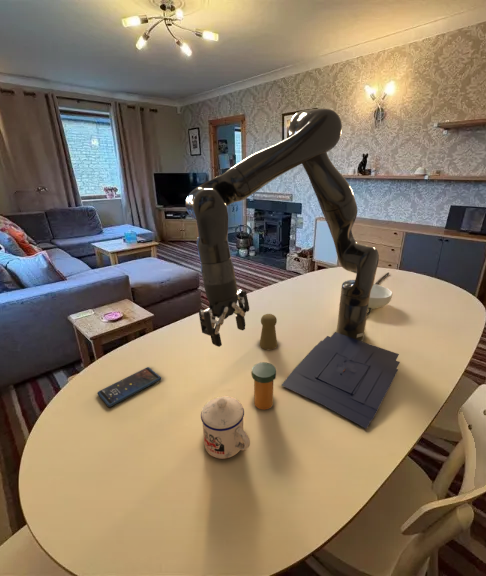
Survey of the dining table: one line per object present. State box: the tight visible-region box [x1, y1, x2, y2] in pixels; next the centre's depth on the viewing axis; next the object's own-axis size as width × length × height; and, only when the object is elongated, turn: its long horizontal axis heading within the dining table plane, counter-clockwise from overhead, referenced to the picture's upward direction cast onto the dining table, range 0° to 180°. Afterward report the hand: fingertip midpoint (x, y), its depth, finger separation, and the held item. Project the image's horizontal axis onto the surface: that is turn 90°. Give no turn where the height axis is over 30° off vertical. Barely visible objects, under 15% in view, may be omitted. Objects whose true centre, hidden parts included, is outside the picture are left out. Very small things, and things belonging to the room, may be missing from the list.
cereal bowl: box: [368, 283, 393, 310], centre depth 131 cm, size 17×17×7 cm
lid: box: [250, 361, 277, 383], centre depth 75 cm, size 6×6×2 cm
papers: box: [281, 331, 401, 429], centre depth 88 cm, size 24×30×4 cm
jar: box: [253, 379, 274, 411], centre depth 77 cm, size 5×5×10 cm
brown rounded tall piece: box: [259, 313, 278, 351], centre depth 102 cm, size 6×6×11 cm
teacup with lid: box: [200, 395, 251, 460], centre depth 65 cm, size 12×9×12 cm
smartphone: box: [96, 366, 162, 408], centre depth 84 cm, size 8×1×15 cm
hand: (230, 337), depth 78 cm, fingers open, 8 cm apart
